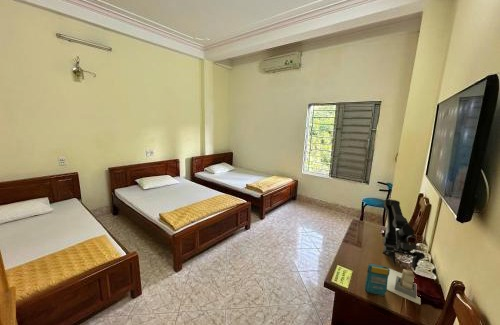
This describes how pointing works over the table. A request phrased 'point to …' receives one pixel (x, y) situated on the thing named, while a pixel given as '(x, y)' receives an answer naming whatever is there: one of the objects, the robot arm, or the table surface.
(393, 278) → the pocket board
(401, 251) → the robot arm
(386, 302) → the table surface
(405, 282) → the birch post
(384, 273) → the handheld gaming console
